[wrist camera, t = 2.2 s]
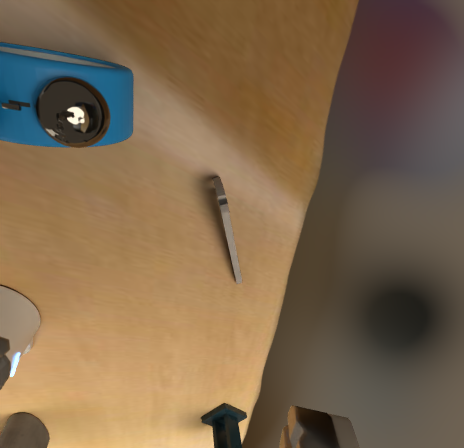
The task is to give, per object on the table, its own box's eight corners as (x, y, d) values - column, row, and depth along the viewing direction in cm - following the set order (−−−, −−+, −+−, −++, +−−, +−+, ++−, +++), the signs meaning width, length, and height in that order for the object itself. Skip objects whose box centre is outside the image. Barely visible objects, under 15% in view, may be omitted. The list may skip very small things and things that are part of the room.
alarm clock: (141, 67, 30) (114, 75, 18) (140, 125, 33) (116, 167, 21) (2, 40, 27) (-150, 27, 15) (14, 106, 30) (-103, 143, 18)
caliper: (211, 176, 38) (216, 196, 33) (219, 174, 38) (225, 193, 33) (236, 282, 49) (243, 309, 44) (242, 280, 49) (249, 308, 44)
